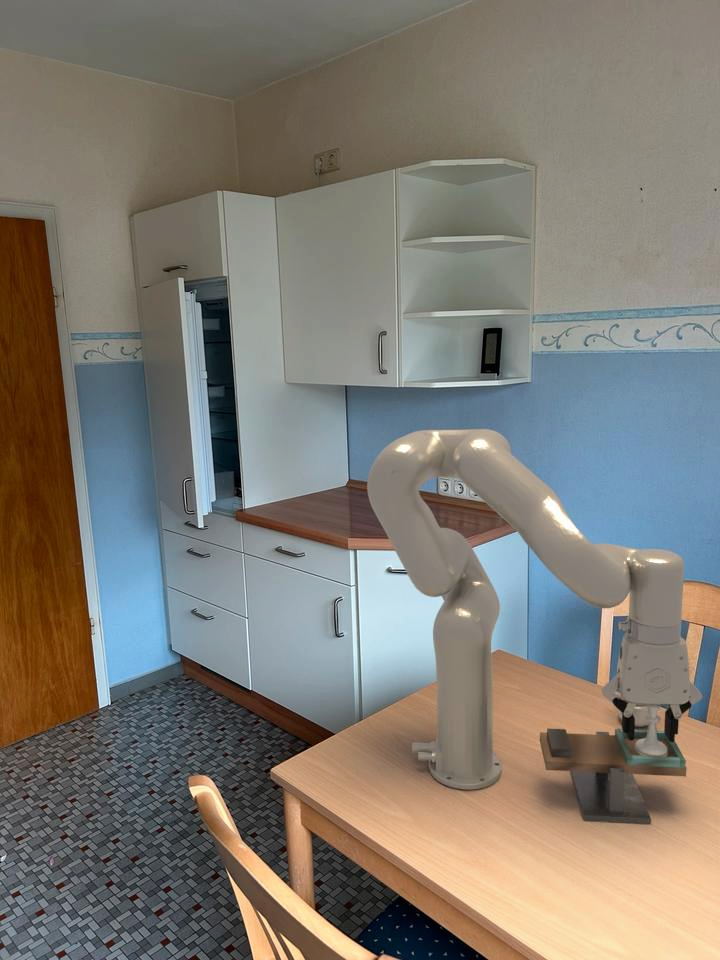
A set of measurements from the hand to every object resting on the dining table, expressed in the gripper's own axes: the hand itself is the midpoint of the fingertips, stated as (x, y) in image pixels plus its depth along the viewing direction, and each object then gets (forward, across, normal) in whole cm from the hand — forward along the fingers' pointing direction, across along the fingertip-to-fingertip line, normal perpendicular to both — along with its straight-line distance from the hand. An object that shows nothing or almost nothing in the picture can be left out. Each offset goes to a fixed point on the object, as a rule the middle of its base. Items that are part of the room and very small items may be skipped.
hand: (649, 735), depth 115 cm
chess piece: (+3, 0, 0) cm, 3 cm away
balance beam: (+4, -6, 0) cm, 7 cm away
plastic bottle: (+11, +4, +24) cm, 27 cm away
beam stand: (+11, -6, 0) cm, 13 cm away
